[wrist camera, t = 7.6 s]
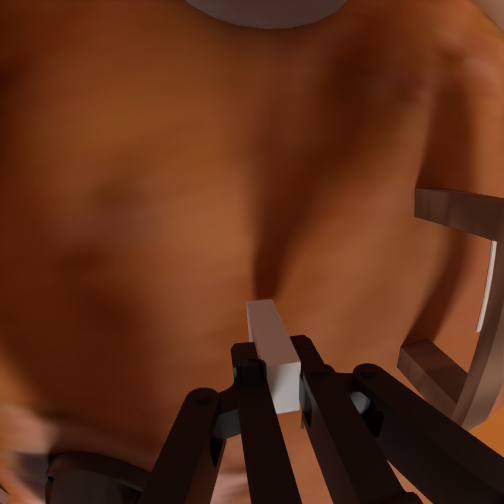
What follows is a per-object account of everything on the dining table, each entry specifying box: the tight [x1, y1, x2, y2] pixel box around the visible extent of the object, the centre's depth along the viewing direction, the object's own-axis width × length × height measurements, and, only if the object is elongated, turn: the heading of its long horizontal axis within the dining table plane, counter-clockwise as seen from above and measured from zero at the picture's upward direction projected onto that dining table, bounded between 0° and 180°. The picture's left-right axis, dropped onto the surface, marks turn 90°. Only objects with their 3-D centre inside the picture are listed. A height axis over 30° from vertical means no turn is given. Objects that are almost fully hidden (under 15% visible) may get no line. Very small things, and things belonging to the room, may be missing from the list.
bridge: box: [397, 188, 504, 431], centre depth 17 cm, size 14×3×9 cm, turn 3°
